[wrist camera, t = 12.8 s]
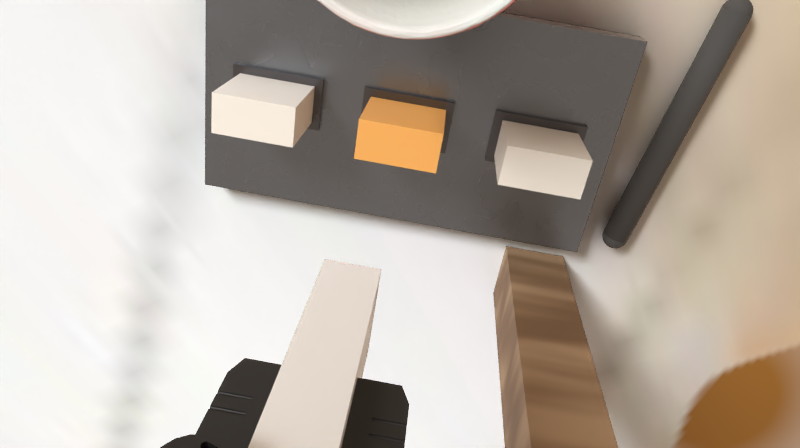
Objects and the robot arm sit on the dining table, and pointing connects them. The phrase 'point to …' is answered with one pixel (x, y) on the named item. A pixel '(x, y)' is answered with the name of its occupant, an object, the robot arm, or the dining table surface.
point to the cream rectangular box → (541, 160)
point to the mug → (416, 16)
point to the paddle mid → (400, 134)
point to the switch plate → (427, 86)
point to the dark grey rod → (678, 119)
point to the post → (545, 358)
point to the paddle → (262, 109)
